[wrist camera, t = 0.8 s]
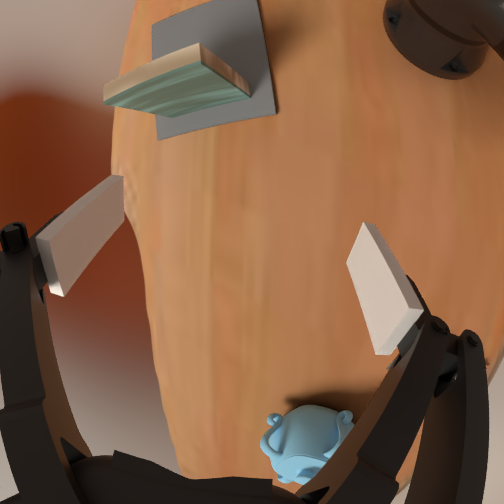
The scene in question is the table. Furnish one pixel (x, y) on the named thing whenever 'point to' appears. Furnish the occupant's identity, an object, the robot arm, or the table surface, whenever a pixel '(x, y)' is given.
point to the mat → (228, 50)
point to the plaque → (178, 84)
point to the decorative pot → (304, 440)
